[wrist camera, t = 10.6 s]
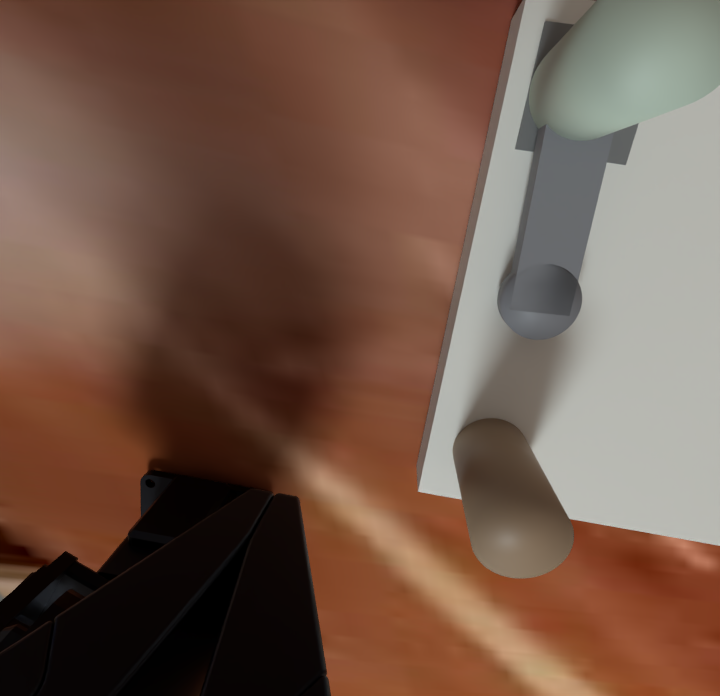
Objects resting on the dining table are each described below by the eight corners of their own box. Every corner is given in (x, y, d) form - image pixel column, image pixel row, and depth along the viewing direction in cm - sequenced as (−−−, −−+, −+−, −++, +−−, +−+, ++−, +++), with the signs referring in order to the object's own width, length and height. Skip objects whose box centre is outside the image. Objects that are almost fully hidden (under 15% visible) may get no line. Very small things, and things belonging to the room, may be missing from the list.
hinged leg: (569, 338, 16) (642, 393, 11) (485, 329, 16) (521, 379, 11) (643, 37, 13) (784, -63, 8) (540, 31, 13) (618, -71, 8)
